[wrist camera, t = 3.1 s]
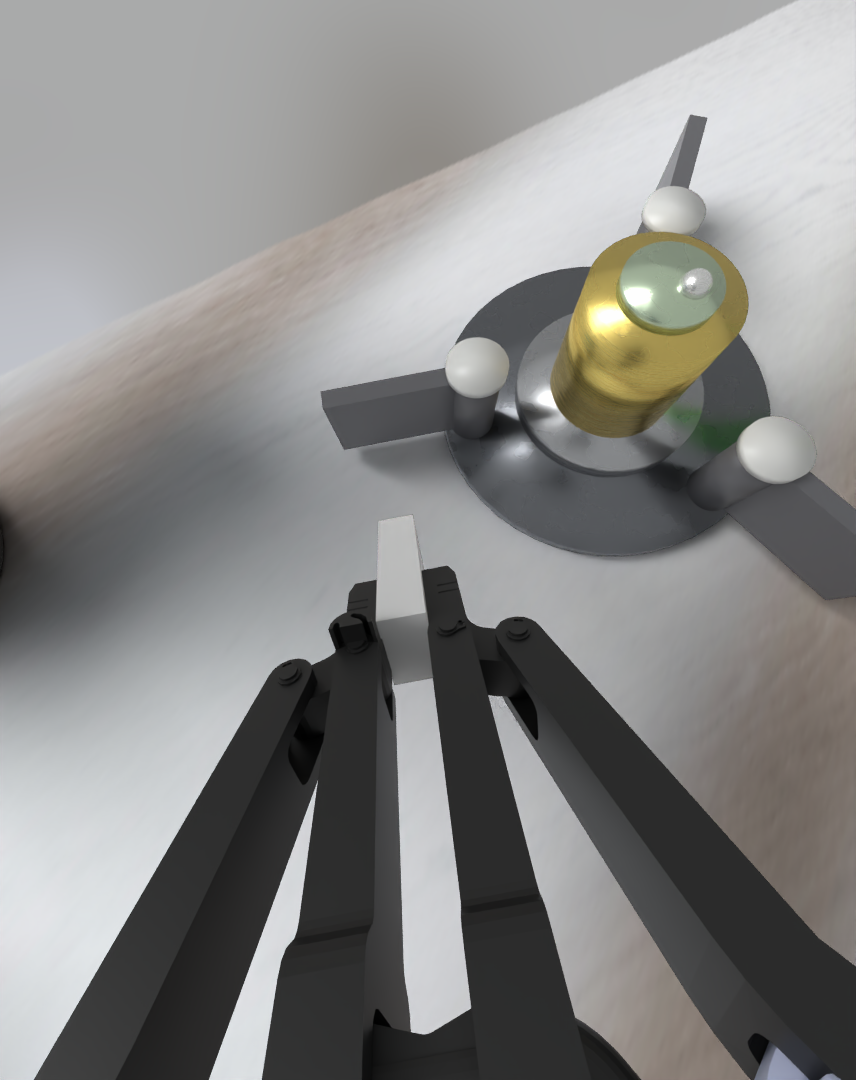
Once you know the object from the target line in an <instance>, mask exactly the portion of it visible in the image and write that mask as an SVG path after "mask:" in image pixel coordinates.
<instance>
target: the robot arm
mask: <svg viewBox="0 0 856 1080" xmlns="http://www.w3.org/2000/svg"><path fill="white" fill-rule="evenodd" d="M2 562H3V538H2V532H1V528H0V573H1V568H2ZM328 630H329V633H330V635H331V638H332V641H333V643H334V646H335V649H336V652H335V653H334V654H333V655H331V656H330V657H328V658H326V659H325V660H322V661H320V662H318V663H316V664H313V665H311V664H310V663H309V662H308V661H306V660H304V659H293V660H289V661H287V662H284V663H282V664H281V665H279V666H278V667H277V668H275V669H274V670H273V672H272V673H271V674H270V675H269V677H268V679H267V680H266V682H265V684H264V685H263V687H262V689H261V691H260V692H259V694H258V696H257V697H256V699H255V701H254V703H253V704H252V706H251V708H250V709H249V711H248V713H247V715H246V716H245V718H244V720H243V721H242V723H241V725H240V727H239V728H238V730H237V732H236V734H235V735H234V737H233V739H232V740H231V742H230V744H229V746H228V747H227V749H226V751H225V752H224V754H223V756H222V758H221V759H220V761H219V763H218V764H217V766H216V768H215V770H214V771H213V773H212V775H211V776H210V778H209V780H208V782H207V783H206V785H205V787H204V788H203V790H202V792H201V794H200V795H199V797H198V799H197V800H196V802H195V804H194V806H193V807H192V809H191V811H190V813H189V814H188V816H187V818H186V819H185V821H184V823H183V825H182V826H181V828H180V830H179V831H178V833H177V835H176V837H175V838H174V840H173V842H172V843H171V845H170V847H169V849H168V850H167V852H166V854H165V855H164V857H163V859H162V861H161V862H160V864H159V866H158V867H157V869H156V871H155V873H154V874H153V876H152V878H151V879H150V881H149V883H148V885H147V886H146V888H145V890H144V892H143V893H142V895H141V897H140V898H139V900H138V902H137V904H136V905H135V907H134V909H133V910H132V912H131V914H130V916H129V917H128V919H127V921H126V922H125V924H124V926H123V928H122V929H121V931H120V933H119V934H118V936H117V938H116V940H115V941H114V943H113V945H112V946H111V948H110V950H109V952H108V953H107V955H106V957H105V958H104V960H103V962H102V964H101V965H100V967H99V969H98V971H97V972H96V974H95V976H94V977H93V979H92V981H91V983H90V984H89V986H88V988H87V989H86V991H85V993H84V995H83V996H82V998H81V1000H80V1001H79V1003H78V1005H77V1007H76V1008H75V1010H74V1012H73V1013H72V1015H71V1017H70V1019H69V1020H68V1022H67V1024H66V1025H65V1027H64V1029H63V1031H62V1032H61V1034H60V1036H59V1037H58V1039H57V1041H56V1043H55V1044H54V1046H53V1048H52V1050H51V1051H50V1053H49V1055H48V1056H47V1058H46V1060H45V1062H44V1063H43V1065H42V1067H41V1068H40V1070H39V1072H38V1074H37V1075H36V1077H35V1079H34V1080H209V1077H210V1075H211V1072H212V1069H213V1066H214V1064H215V1061H216V1058H217V1055H218V1053H219V1050H220V1047H221V1044H222V1042H223V1039H224V1036H225V1033H226V1031H227V1028H228V1025H229V1022H230V1020H231V1017H232V1014H233V1011H234V1009H235V1006H236V1003H237V1000H238V998H239V995H240V992H241V989H242V987H243V984H244V981H245V978H246V976H247V973H248V970H249V967H250V965H251V962H252V959H253V956H254V954H255V951H256V948H257V946H258V943H259V940H260V937H261V935H262V932H263V929H264V926H265V924H266V921H267V918H268V915H269V913H270V910H271V907H272V904H273V902H274V899H275V896H276V893H277V891H278V888H279V885H280V882H281V880H282V877H283V874H284V871H285V869H286V866H287V863H288V860H289V858H290V855H291V852H292V849H293V847H294V844H295V841H296V838H297V836H298V833H299V830H300V827H301V825H302V822H303V819H304V816H305V814H306V811H307V808H308V806H309V803H310V800H311V797H312V795H313V792H314V789H315V786H316V784H317V781H318V785H317V792H316V799H315V807H314V814H313V822H312V829H311V836H310V844H309V851H308V858H307V866H306V873H305V881H304V888H303V895H302V903H301V910H300V918H299V924H298V929H297V933H296V936H295V938H294V940H293V941H292V942H291V943H290V944H289V945H288V947H287V948H286V950H285V953H284V955H283V958H282V960H281V965H280V970H279V974H278V979H277V986H276V992H275V999H274V1005H273V1012H272V1018H271V1024H270V1031H269V1037H268V1044H267V1050H266V1057H265V1063H264V1069H263V1076H262V1080H641V1079H640V1078H639V1076H638V1075H637V1074H636V1073H635V1072H634V1071H633V1069H632V1068H631V1067H630V1066H629V1065H628V1063H627V1062H626V1061H625V1060H624V1059H623V1058H622V1057H621V1055H620V1054H619V1053H618V1052H617V1051H616V1050H615V1049H614V1048H613V1047H612V1046H611V1045H610V1044H609V1043H608V1042H607V1041H606V1040H605V1039H604V1038H603V1037H602V1036H601V1035H599V1034H598V1033H597V1032H596V1031H594V1030H593V1029H592V1028H590V1027H589V1026H588V1025H586V1024H585V1023H583V1022H582V1021H580V1020H578V1019H576V1018H575V1016H574V1012H573V1008H572V1005H571V1001H570V997H569V993H568V990H567V986H566V982H565V978H564V974H563V971H562V967H561V963H560V959H559V955H558V952H557V948H556V944H555V940H554V936H553V933H552V929H551V925H550V922H549V918H548V914H547V911H546V908H545V905H544V902H543V899H542V897H541V895H540V892H539V889H538V886H537V882H536V879H535V875H534V871H533V867H532V863H531V859H530V856H529V852H528V848H527V844H526V840H525V836H524V832H523V829H522V825H521V821H520V817H519V813H518V809H517V805H516V802H515V798H514V794H513V790H512V786H511V782H510V778H509V774H508V771H507V767H506V763H505V759H504V755H503V751H502V747H501V744H500V740H499V736H498V732H497V728H496V724H495V720H494V716H493V713H492V709H491V705H490V701H489V697H488V695H493V696H503V698H504V701H505V702H506V704H507V706H508V707H509V709H510V710H511V712H512V714H513V715H514V717H515V718H516V720H517V722H518V723H519V725H520V726H521V728H522V730H523V731H524V733H525V734H526V736H527V738H528V739H529V741H530V742H531V744H532V746H533V747H534V749H535V750H536V752H537V754H538V755H539V757H540V758H541V760H542V762H543V763H544V765H545V767H546V768H547V770H548V771H549V773H550V775H551V776H552V778H553V779H554V781H555V783H556V784H557V786H558V787H559V789H560V791H561V792H562V794H563V795H564V797H565V799H566V800H567V802H568V803H569V805H570V807H571V808H572V810H573V811H574V813H575V815H576V816H577V818H578V819H579V821H580V823H581V824H582V826H583V827H584V829H585V831H586V832H587V834H588V835H589V837H590V839H591V840H592V842H593V843H594V845H595V847H596V848H597V850H598V851H599V853H600V855H601V856H602V858H603V859H604V861H605V863H606V864H607V866H608V867H609V869H610V871H611V872H612V874H613V876H614V877H615V879H616V880H617V882H618V884H619V885H620V887H621V888H622V890H623V892H624V893H625V895H626V896H627V898H628V900H629V901H630V903H631V904H632V906H633V908H634V909H635V911H636V912H637V914H638V916H639V917H640V919H641V920H642V922H643V924H644V925H645V927H646V928H647V930H648V932H649V933H650V935H651V936H652V938H653V940H654V941H655V943H656V944H657V946H658V948H659V949H660V951H661V952H662V954H663V956H664V957H665V959H666V960H667V962H668V964H669V965H670V967H671V968H672V970H673V972H674V973H675V975H676V976H677V978H678V980H679V981H680V983H681V985H682V986H683V988H684V989H685V991H686V993H687V994H688V995H689V997H690V998H691V1000H692V1001H693V1003H694V1004H695V1006H696V1007H697V1009H698V1010H699V1012H700V1013H701V1015H702V1016H703V1018H704V1019H705V1021H706V1022H707V1024H708V1025H709V1027H710V1028H711V1030H712V1031H713V1032H714V1034H715V1035H716V1036H717V1038H718V1039H719V1040H720V1041H721V1043H722V1044H723V1045H724V1047H725V1048H726V1049H727V1050H728V1052H729V1053H730V1054H731V1056H732V1057H733V1058H734V1059H735V1061H736V1062H737V1063H738V1065H739V1066H740V1067H741V1068H742V1070H743V1071H744V1072H745V1074H746V1075H747V1076H748V1077H749V1078H750V1079H751V1080H856V967H855V966H854V965H853V964H852V963H850V962H849V961H848V960H846V959H845V958H844V957H842V956H841V955H840V954H839V953H837V952H836V951H835V950H833V949H832V948H831V947H829V946H828V945H827V944H826V943H824V942H823V941H822V940H820V939H819V938H818V937H817V936H816V935H815V934H814V933H813V932H812V930H811V929H810V928H809V927H808V926H807V925H806V924H805V923H804V921H803V920H802V919H801V918H800V917H799V916H798V915H797V914H796V913H795V911H794V910H793V909H792V908H791V907H790V906H789V905H788V904H787V902H786V901H785V900H784V899H783V898H782V897H781V896H780V895H779V893H778V892H777V891H776V890H775V889H774V888H773V887H772V886H771V885H770V883H769V882H768V881H767V880H766V879H765V878H764V877H763V876H762V874H761V873H760V872H759V871H758V870H757V869H756V868H755V867H754V865H753V864H752V863H751V862H750V861H749V860H748V859H747V858H746V857H745V855H744V854H743V853H742V852H741V851H740V850H739V849H738V848H737V846H736V845H735V844H734V843H733V842H732V841H731V840H730V839H729V837H728V836H727V835H726V834H725V833H724V832H723V831H722V830H721V829H720V827H719V826H718V825H717V824H716V823H715V822H714V821H713V820H712V818H711V817H710V816H709V815H708V814H707V813H706V812H705V811H704V810H703V808H702V807H701V806H700V805H699V804H698V803H697V802H696V801H695V799H694V798H693V797H692V796H691V795H690V794H689V793H688V792H687V790H686V789H685V788H684V787H683V786H682V785H681V784H680V783H679V782H678V780H677V779H676V778H675V777H674V776H673V775H672V774H671V773H670V771H669V770H668V769H667V768H666V767H665V766H664V765H663V764H662V762H661V761H660V760H659V759H658V758H657V757H656V756H655V755H654V754H653V752H652V751H651V750H650V749H649V748H648V747H647V746H646V745H645V743H644V742H643V741H642V740H641V739H640V738H639V737H638V736H637V734H636V733H635V732H634V731H633V730H632V729H631V728H630V727H629V726H628V724H627V723H626V722H625V721H624V720H623V719H622V718H621V717H620V715H619V714H618V713H617V712H616V711H615V710H614V709H613V708H612V706H611V705H610V704H609V703H608V702H607V701H606V700H605V699H604V698H603V696H602V695H601V694H600V693H599V692H598V691H597V690H596V689H595V687H594V686H593V685H592V684H591V683H590V682H589V681H588V680H587V678H586V677H585V676H584V675H583V674H582V673H581V672H580V671H579V670H578V668H577V667H576V666H575V665H574V664H573V663H572V662H571V661H570V659H569V658H568V657H567V656H566V655H565V654H564V653H563V652H562V651H561V649H560V648H559V647H558V646H557V645H556V644H555V643H554V642H553V640H552V639H551V638H550V637H549V636H548V635H547V634H546V633H545V631H544V630H543V629H542V628H541V627H540V626H539V625H538V624H537V623H536V622H534V621H533V620H531V619H528V618H525V617H512V618H507V619H505V620H504V621H502V622H500V623H499V625H498V626H497V627H496V629H493V628H483V627H479V626H476V625H474V624H473V623H471V622H470V621H469V620H468V619H467V616H466V614H465V610H464V606H463V602H462V598H461V594H460V591H459V587H458V583H457V579H456V575H455V572H454V571H453V570H452V569H450V568H449V567H448V566H443V567H438V568H433V569H427V570H424V567H423V562H422V557H421V552H420V547H419V542H418V537H417V532H416V527H415V523H414V518H413V514H412V515H407V516H402V517H396V518H391V519H386V520H380V521H378V556H377V580H374V581H368V582H363V583H358V584H355V585H354V587H353V588H352V590H351V591H350V593H349V598H348V606H347V613H344V614H342V615H340V616H339V617H337V618H336V619H335V620H334V621H333V622H332V623H331V624H330V627H329V629H328ZM429 678H433V682H434V690H435V698H436V706H437V714H438V722H439V730H440V738H441V746H442V754H443V762H444V770H445V778H446V786H447V794H448V802H449V810H450V818H451V826H452V834H453V842H454V850H455V858H456V866H457V874H458V882H459V890H460V899H461V923H462V933H463V943H464V951H465V959H466V967H467V976H468V984H469V992H470V1000H471V1009H470V1010H468V1011H466V1012H465V1013H463V1014H461V1015H460V1016H458V1017H457V1018H455V1019H453V1020H452V1021H450V1022H448V1023H447V1024H445V1025H443V1026H442V1027H440V1028H438V1029H437V1030H435V1031H434V1032H432V1033H430V1034H425V1035H422V1034H417V1033H412V1032H411V1028H410V1013H409V1004H408V996H407V990H406V985H405V977H404V964H403V933H402V900H401V868H400V835H399V803H398V770H397V738H396V705H395V696H394V693H393V689H392V679H393V682H394V685H397V684H403V683H408V682H413V681H419V680H424V679H429Z"/></svg>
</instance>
